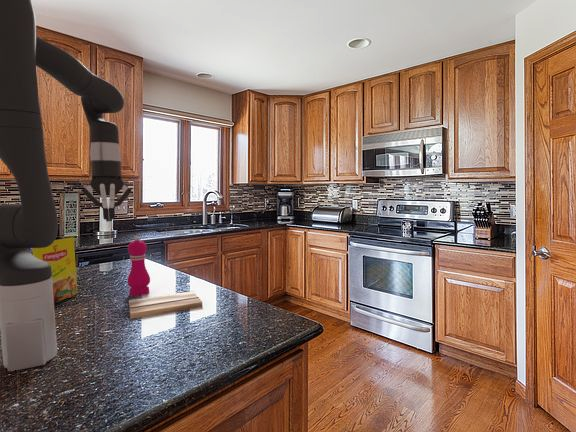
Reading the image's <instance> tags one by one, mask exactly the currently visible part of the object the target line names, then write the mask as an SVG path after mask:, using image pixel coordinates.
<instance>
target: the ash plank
mask: <svg viewBox="0 0 576 432" xmlns="http://www.w3.org/2000/svg"><path fill="white" fill-rule="evenodd" d="M194 297H198V295H197V294H196V293H195V292H194V291H193V290H191V291H184V292H183V291H182V292H179V293H178V292H176V293H170V294H163V295H157V296H156V295H155V296H149V297H142V298H136V299H129V300H128V306H129V307H136V306H142V305H148V304H155V303H161V302H168V301H174V300H181V299H187V298H194Z"/></svg>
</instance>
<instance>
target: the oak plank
mask: <svg viewBox="0 0 576 432" xmlns="http://www.w3.org/2000/svg"><path fill="white" fill-rule="evenodd" d="M202 307H203V300H201V298H200V296H197V297H194V298H187V299H181V300H174V301H168V302H161V303H155V304H148V305H142V306H136V307H129V317H130V319H131V320H132V319H138V318H144V317H149V316H154V315H161V314H167V313H174V312H179V311H185V310H190V309H191V310H192V309H197V308H202Z"/></svg>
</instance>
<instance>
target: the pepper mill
mask: <svg viewBox="0 0 576 432" xmlns="http://www.w3.org/2000/svg"><path fill="white" fill-rule="evenodd" d="M140 239H141V238H140V236H137V235H135V236H134V237H133V241H131V242H130V243H129V244H128V245H127V251H128V253H129V254H130V255H129V260H130V262H131V266H130V267H131V268H130V271H129V274H128V277H127V281H126V282H127V285H128V287H130V288H129V296H132V297H139V296H140V297H141V296H145V295H147V294H149V293H150V287H149V284H150V282H151V277H150V274H149V272H148V270H147V269H146V268H147V267H146V263H145V260H146V258H147V257H146V254H145V253H146V251H147V250H148V249H147V248H148V247H147V244H146V242H144V241H143V240H140Z"/></svg>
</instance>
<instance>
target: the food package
mask: <svg viewBox="0 0 576 432" xmlns="http://www.w3.org/2000/svg"><path fill="white" fill-rule="evenodd" d="M75 249H76V248H75V237H74V236H73V237H67V238H62V239H55V241H54V242H53V243H52V244H51V245H50V246H48V247H44V248H32V255H33V256H35V257H36V258H38V259H40V260H42V261H44V262H47V263H49V264H50V265H51V269H52V282H53V298H54V304H55V303H58V302H61V301H63V300H65V299H68V298H71V297H73V296H76V295H78V285H77V284H78V283H77V282H78V279H77V267H76V250H75Z"/></svg>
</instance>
